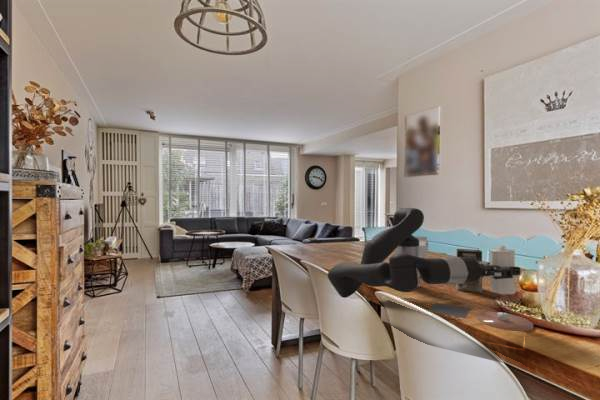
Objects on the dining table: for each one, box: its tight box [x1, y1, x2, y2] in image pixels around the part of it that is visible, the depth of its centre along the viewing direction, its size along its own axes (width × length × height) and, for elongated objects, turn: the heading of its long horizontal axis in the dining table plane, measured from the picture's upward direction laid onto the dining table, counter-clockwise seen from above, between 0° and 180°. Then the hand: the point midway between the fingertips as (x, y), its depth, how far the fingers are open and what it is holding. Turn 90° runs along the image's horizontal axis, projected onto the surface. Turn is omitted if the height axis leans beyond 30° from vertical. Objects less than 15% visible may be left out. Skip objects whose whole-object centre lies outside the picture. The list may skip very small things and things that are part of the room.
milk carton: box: [413, 235, 430, 259], centre depth 156 cm, size 7×7×19 cm
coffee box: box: [455, 248, 483, 293], centre depth 129 cm, size 9×6×16 cm
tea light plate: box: [475, 311, 534, 333], centre depth 92 cm, size 14×14×3 cm
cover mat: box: [427, 302, 472, 319], centre depth 103 cm, size 11×11×1 cm
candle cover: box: [489, 245, 516, 295], centre depth 92 cm, size 6×6×13 cm
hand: (509, 268), depth 93 cm, fingers closed on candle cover, 6 cm apart
